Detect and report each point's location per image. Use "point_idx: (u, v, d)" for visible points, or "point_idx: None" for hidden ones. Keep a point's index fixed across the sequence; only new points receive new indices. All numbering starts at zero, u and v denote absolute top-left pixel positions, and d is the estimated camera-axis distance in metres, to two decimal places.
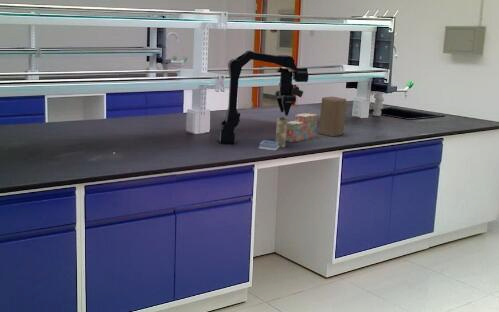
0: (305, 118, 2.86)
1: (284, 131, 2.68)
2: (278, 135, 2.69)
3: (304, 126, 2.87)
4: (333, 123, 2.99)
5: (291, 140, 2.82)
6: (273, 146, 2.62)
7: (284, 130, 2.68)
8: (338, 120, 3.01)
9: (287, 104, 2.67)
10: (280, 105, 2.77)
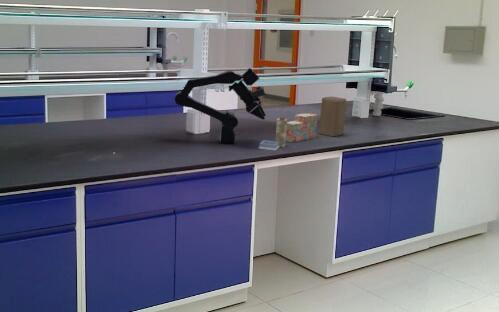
0: (305, 118, 2.86)
1: (284, 131, 2.68)
2: (278, 134, 2.69)
3: (304, 126, 2.87)
4: (333, 123, 2.99)
5: (291, 140, 2.81)
6: (273, 146, 2.62)
7: (284, 130, 2.68)
8: (338, 120, 3.01)
9: (256, 110, 2.62)
10: None
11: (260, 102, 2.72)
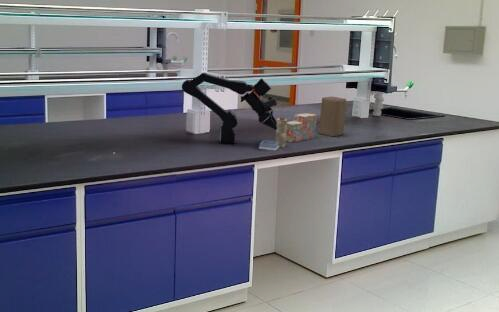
0: (305, 118, 2.86)
1: (284, 131, 2.68)
2: (278, 134, 2.69)
3: (303, 126, 2.86)
4: (333, 123, 2.99)
5: (291, 140, 2.81)
6: (273, 146, 2.62)
7: (284, 130, 2.68)
8: (338, 120, 3.01)
9: (268, 121, 2.63)
10: None
11: (272, 112, 2.73)
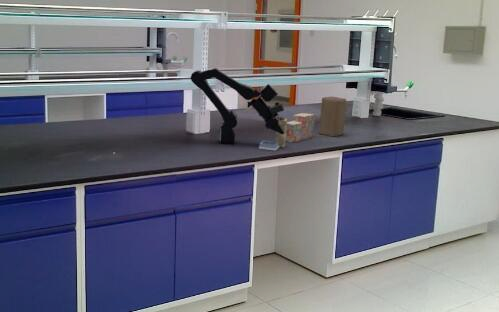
0: (304, 118, 2.86)
1: (284, 131, 2.67)
2: (278, 135, 2.68)
3: (303, 126, 2.87)
4: (333, 123, 2.99)
5: (291, 140, 2.81)
6: (273, 146, 2.62)
7: (284, 130, 2.67)
8: (338, 120, 3.01)
9: (275, 125, 2.65)
10: None
11: None
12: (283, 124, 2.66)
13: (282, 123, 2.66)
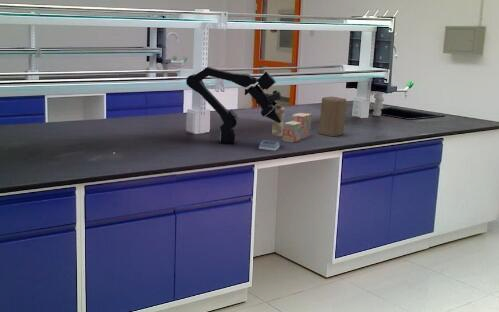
0: (303, 118, 2.86)
1: (281, 120, 2.64)
2: (275, 123, 2.65)
3: (302, 126, 2.87)
4: (333, 123, 2.99)
5: (292, 140, 2.81)
6: (273, 146, 2.62)
7: (281, 119, 2.63)
8: (338, 120, 3.01)
9: (272, 114, 2.62)
10: None
11: None
12: (280, 112, 2.63)
13: (279, 111, 2.63)
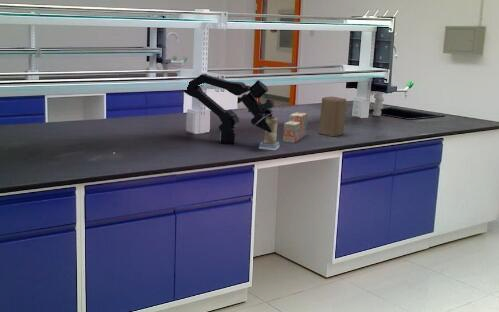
0: (301, 118, 2.87)
1: (273, 130, 2.62)
2: (267, 134, 2.63)
3: (300, 126, 2.87)
4: (333, 123, 2.99)
5: (293, 141, 2.80)
6: (273, 146, 2.62)
7: (273, 129, 2.62)
8: (338, 120, 3.01)
9: (262, 123, 2.59)
10: None
11: (271, 115, 2.68)
12: (272, 123, 2.62)
13: (271, 122, 2.62)
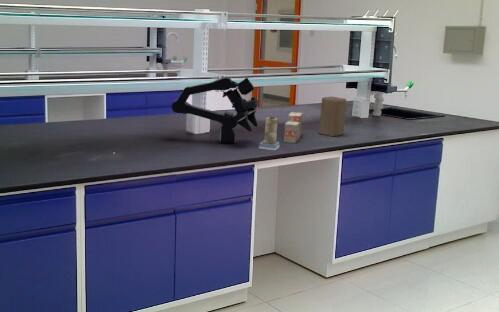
0: (300, 117, 2.87)
1: (273, 130, 2.62)
2: (267, 134, 2.63)
3: (299, 126, 2.87)
4: (333, 123, 2.99)
5: (294, 141, 2.80)
6: (273, 146, 2.62)
7: (273, 129, 2.62)
8: (338, 120, 3.01)
9: (243, 121, 2.63)
10: (251, 121, 2.73)
11: (254, 112, 2.71)
12: (272, 123, 2.62)
13: (271, 122, 2.62)
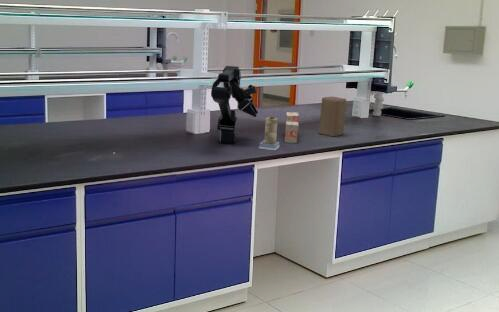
0: (298, 117, 2.87)
1: (273, 130, 2.62)
2: (267, 134, 2.63)
3: None
4: (333, 123, 2.99)
5: (295, 141, 2.80)
6: (273, 146, 2.62)
7: (273, 129, 2.62)
8: (338, 120, 3.01)
9: (247, 108, 2.67)
10: None
11: (252, 100, 2.77)
12: (272, 123, 2.62)
13: (271, 122, 2.62)
